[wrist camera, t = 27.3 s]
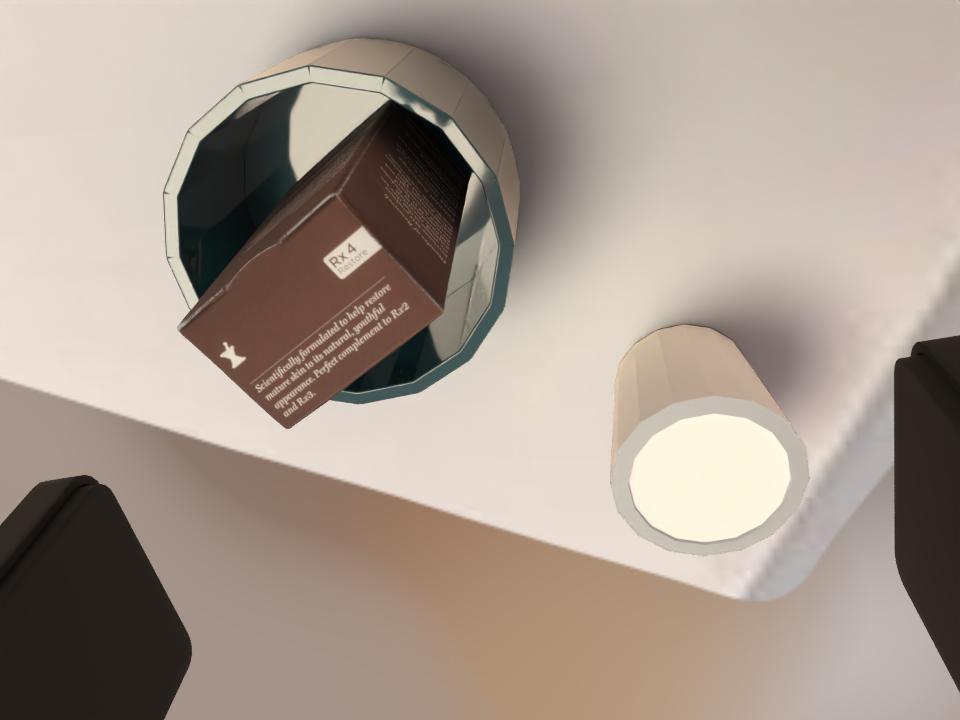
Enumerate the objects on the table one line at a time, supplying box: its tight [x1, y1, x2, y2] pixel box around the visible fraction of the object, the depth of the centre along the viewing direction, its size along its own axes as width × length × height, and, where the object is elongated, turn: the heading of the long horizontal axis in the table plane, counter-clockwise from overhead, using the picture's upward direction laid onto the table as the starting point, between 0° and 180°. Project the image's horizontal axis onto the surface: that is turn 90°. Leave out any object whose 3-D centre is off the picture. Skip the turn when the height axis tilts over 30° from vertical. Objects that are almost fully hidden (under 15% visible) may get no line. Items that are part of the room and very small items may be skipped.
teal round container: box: [163, 38, 521, 404], centre depth 29 cm, size 11×11×7 cm
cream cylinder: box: [610, 325, 810, 556], centre depth 32 cm, size 7×7×7 cm
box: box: [178, 100, 469, 429], centre depth 26 cm, size 6×4×12 cm
